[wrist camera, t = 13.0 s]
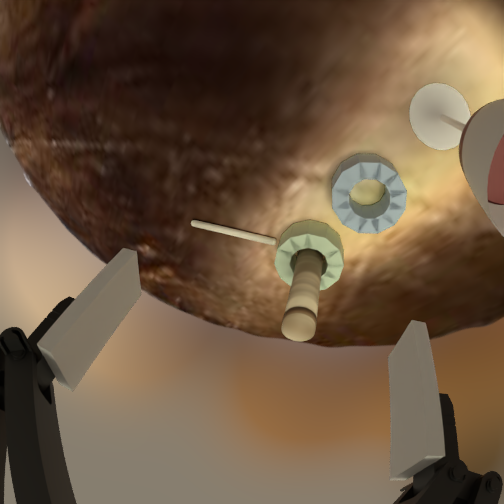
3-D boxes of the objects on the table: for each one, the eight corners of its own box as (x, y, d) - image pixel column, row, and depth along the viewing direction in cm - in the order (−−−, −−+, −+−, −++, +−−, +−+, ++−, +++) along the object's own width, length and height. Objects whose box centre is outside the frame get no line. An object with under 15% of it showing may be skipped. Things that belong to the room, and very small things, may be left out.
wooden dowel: (301, 235, 44) (284, 314, 31) (326, 241, 44) (319, 322, 31) (296, 256, 46) (278, 337, 33) (320, 262, 46) (310, 344, 33)
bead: (286, 213, 43) (281, 227, 40) (350, 229, 42) (351, 244, 39) (275, 266, 48) (270, 282, 45) (332, 280, 47) (331, 297, 44)
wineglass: (484, 134, 30) (596, 212, 11) (423, 164, 35) (501, 269, 16) (455, 69, 27) (576, 86, 8) (391, 99, 32) (466, 139, 13)
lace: (192, 218, 47) (190, 221, 46) (277, 237, 45) (276, 241, 45) (192, 223, 48) (189, 226, 47) (276, 243, 46) (275, 247, 45)
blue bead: (330, 153, 37) (330, 162, 34) (401, 154, 35) (408, 163, 32) (332, 218, 42) (332, 232, 39) (397, 219, 39) (402, 234, 36)
